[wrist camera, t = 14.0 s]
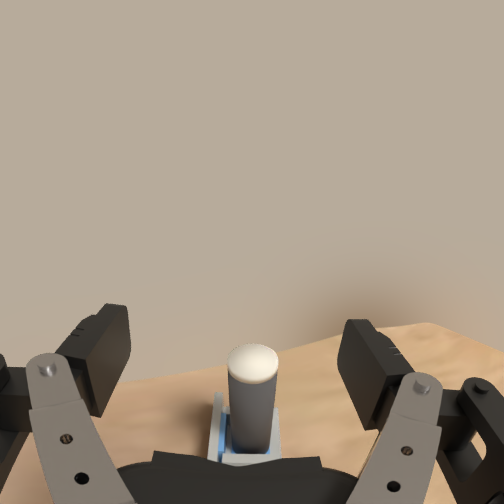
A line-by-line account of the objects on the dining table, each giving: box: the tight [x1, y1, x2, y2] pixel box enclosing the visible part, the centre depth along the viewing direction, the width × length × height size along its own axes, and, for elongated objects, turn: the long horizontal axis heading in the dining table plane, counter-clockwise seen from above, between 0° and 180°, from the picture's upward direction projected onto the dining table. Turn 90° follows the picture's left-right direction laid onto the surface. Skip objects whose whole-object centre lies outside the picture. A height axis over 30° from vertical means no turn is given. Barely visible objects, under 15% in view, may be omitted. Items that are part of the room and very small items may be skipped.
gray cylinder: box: [227, 344, 278, 454], centre depth 29 cm, size 4×4×14 cm
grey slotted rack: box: [207, 392, 281, 466], centre depth 26 cm, size 8×26×4 cm, turn 0°
